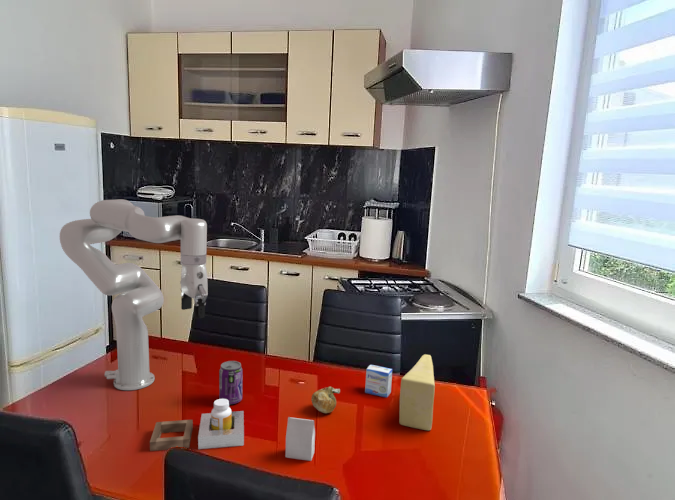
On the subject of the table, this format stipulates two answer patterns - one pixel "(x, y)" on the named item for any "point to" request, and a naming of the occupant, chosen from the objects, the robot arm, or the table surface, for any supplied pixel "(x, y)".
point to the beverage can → (231, 381)
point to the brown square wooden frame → (169, 442)
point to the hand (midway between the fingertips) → (192, 313)
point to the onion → (325, 399)
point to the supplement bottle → (221, 415)
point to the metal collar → (221, 432)
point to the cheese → (418, 395)
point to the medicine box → (378, 381)
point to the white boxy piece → (300, 439)
